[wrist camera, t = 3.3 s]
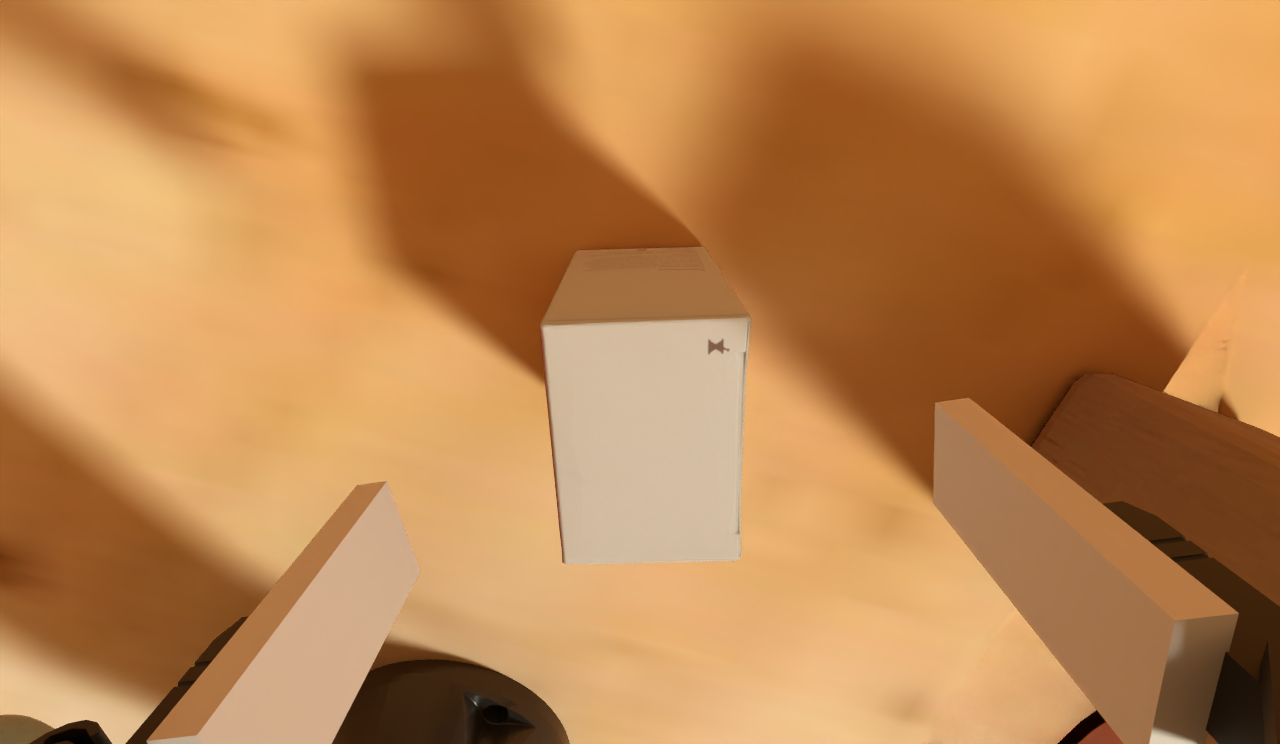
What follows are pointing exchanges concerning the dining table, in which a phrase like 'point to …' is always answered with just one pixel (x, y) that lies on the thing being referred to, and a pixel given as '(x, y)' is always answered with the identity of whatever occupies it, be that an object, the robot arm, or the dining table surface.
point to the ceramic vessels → (1092, 732)
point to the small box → (646, 406)
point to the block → (1175, 469)
